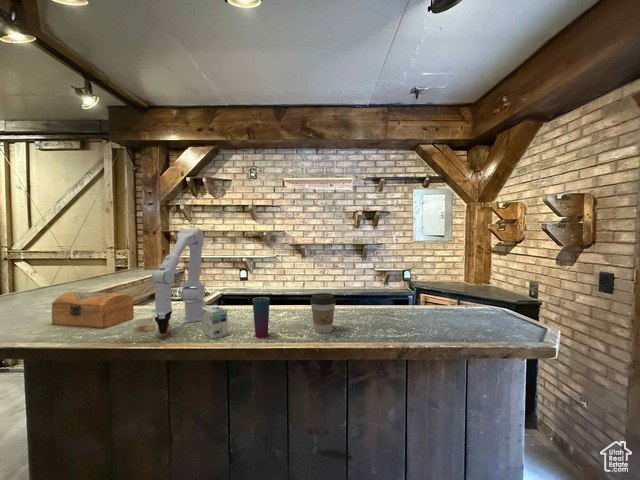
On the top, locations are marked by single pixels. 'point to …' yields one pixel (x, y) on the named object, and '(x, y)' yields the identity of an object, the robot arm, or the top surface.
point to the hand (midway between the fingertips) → (164, 331)
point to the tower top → (144, 320)
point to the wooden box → (92, 309)
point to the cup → (261, 316)
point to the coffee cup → (323, 311)
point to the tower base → (144, 328)
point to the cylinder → (164, 333)
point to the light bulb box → (214, 321)
